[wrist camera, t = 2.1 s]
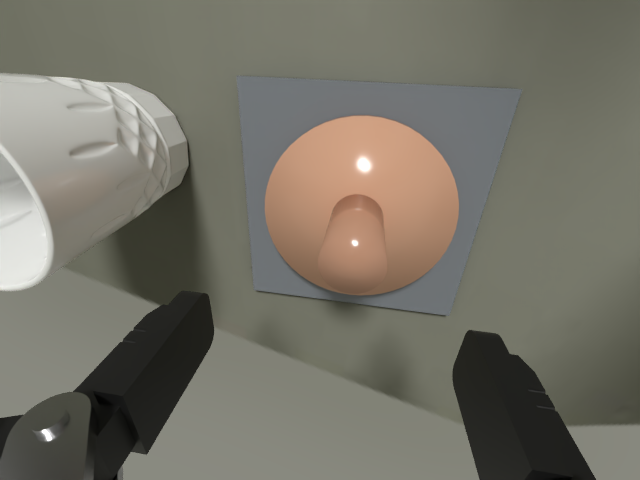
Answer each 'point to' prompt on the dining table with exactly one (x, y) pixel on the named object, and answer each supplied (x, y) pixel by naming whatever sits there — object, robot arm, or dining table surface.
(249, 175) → the mat
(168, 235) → the dining table surface
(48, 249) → the white cup
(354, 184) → the lid
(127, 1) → the dining table surface
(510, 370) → the robot arm
